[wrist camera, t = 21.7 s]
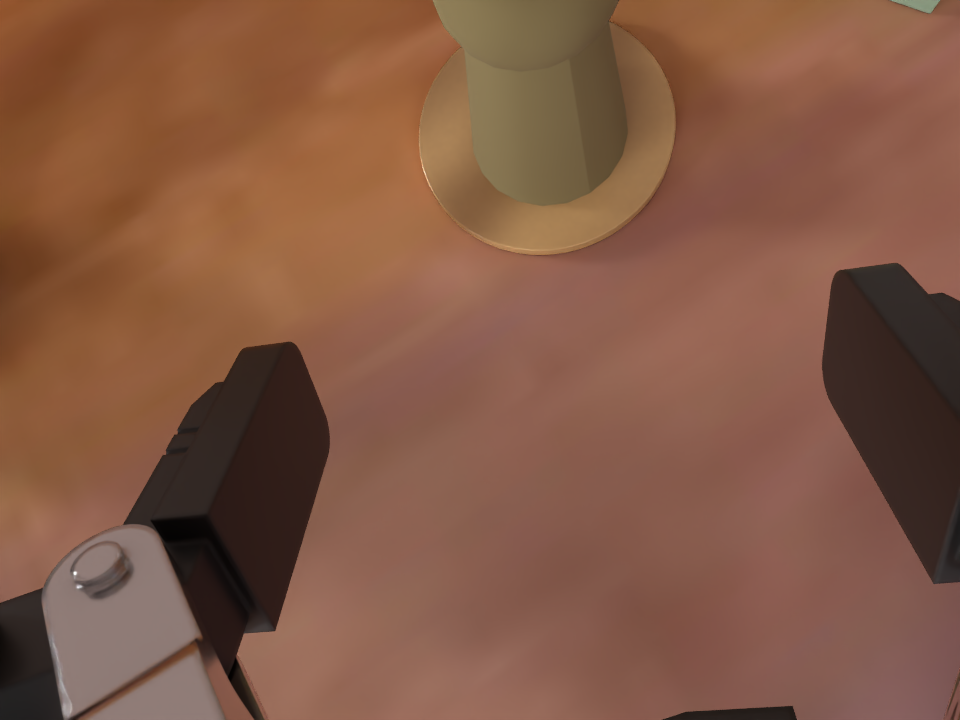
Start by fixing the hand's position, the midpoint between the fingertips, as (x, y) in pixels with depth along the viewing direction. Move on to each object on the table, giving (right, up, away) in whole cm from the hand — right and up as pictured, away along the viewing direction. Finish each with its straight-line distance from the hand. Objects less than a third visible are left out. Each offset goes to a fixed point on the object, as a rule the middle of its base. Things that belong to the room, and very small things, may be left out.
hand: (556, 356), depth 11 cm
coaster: (+1, +9, +17) cm, 20 cm away
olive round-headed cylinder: (+2, +9, +17) cm, 19 cm away
